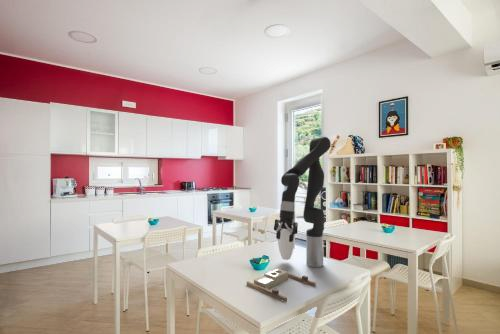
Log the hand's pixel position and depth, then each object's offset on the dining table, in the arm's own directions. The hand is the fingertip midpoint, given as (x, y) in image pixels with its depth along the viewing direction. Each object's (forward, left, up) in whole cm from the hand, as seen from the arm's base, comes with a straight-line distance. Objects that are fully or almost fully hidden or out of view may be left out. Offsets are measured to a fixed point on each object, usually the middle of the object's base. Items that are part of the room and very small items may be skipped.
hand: (284, 240), depth 151 cm
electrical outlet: (+13, +3, -18) cm, 23 cm away
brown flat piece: (+13, +9, -18) cm, 24 cm away
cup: (-13, -9, -18) cm, 24 cm away
